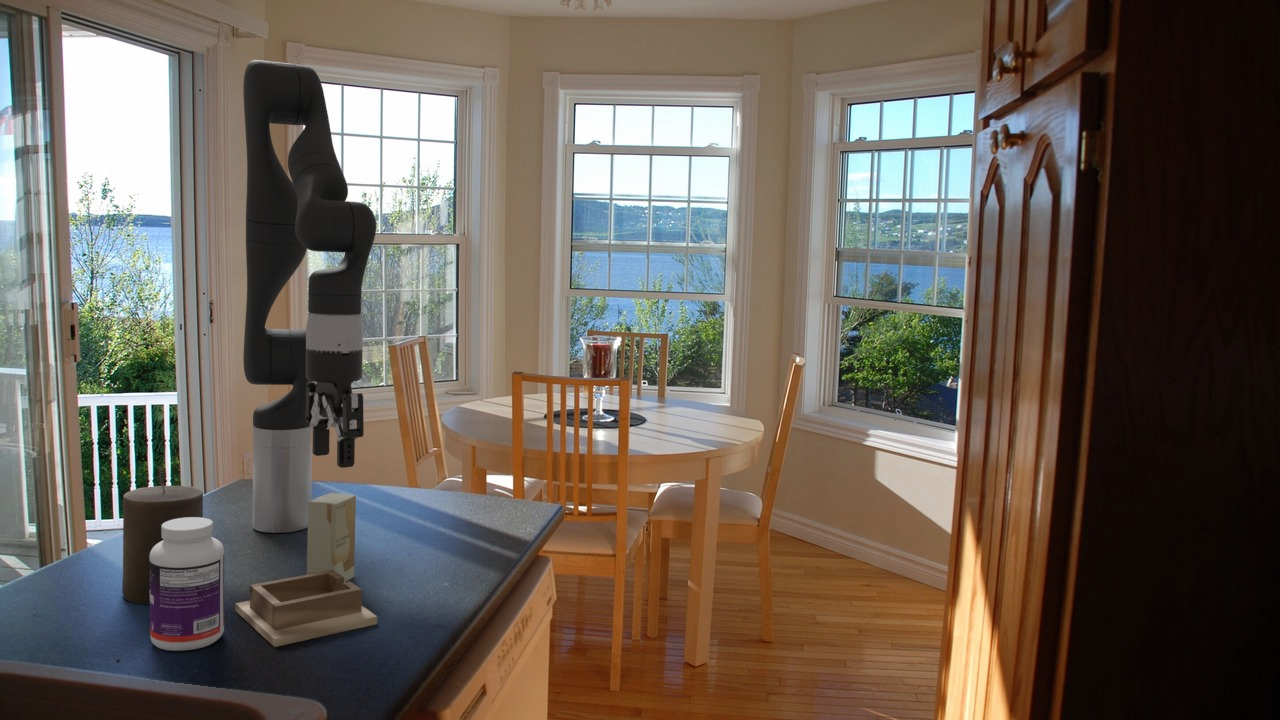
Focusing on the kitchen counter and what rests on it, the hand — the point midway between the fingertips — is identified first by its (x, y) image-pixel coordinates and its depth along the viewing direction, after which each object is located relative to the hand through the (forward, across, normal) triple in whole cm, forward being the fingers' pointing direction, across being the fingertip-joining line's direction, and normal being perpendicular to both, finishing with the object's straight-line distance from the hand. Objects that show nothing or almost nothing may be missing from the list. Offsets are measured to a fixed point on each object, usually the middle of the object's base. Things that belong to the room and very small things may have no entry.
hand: (333, 460), depth 136 cm
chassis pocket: (+18, +11, -8) cm, 22 cm away
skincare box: (+18, 0, 0) cm, 18 cm away
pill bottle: (+18, +10, -22) cm, 30 cm away
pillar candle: (+18, -8, -20) cm, 28 cm away
